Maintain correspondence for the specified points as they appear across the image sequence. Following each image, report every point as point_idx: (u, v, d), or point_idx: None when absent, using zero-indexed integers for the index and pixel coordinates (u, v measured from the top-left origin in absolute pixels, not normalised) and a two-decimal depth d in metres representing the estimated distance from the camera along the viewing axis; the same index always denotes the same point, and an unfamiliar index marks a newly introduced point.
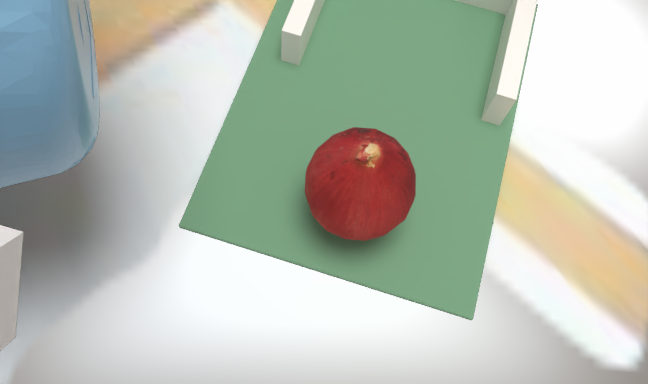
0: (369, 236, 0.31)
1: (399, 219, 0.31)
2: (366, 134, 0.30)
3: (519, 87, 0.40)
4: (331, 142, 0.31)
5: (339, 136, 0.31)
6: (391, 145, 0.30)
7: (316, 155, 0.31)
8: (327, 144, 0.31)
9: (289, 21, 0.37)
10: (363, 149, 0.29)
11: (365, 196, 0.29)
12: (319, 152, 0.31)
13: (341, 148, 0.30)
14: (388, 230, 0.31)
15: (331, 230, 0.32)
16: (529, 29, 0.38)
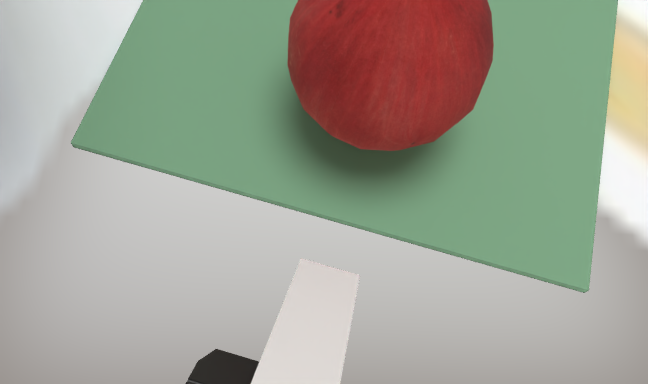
0: (410, 137, 0.17)
1: (466, 104, 0.17)
2: None
3: None
4: None
5: None
6: None
7: None
8: None
9: None
10: None
11: (407, 47, 0.15)
12: None
13: None
14: (445, 126, 0.17)
15: (338, 130, 0.17)
16: None
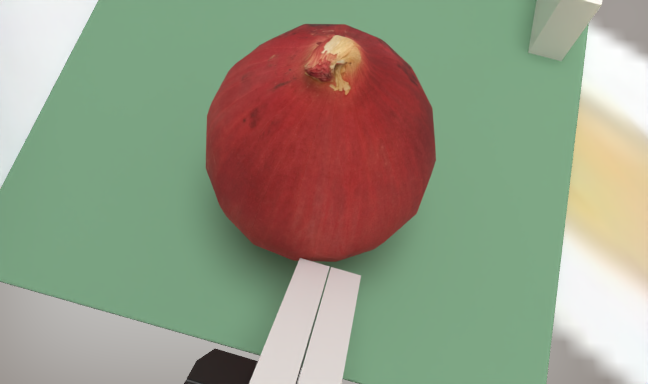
0: (344, 252, 0.15)
1: (406, 213, 0.15)
2: (328, 27, 0.14)
3: None
4: (252, 52, 0.14)
5: (269, 40, 0.14)
6: (383, 49, 0.14)
7: (223, 84, 0.15)
8: (244, 58, 0.14)
9: None
10: (320, 45, 0.12)
11: (332, 162, 0.13)
12: (228, 77, 0.14)
13: (273, 57, 0.13)
14: (384, 237, 0.15)
15: (263, 244, 0.15)
16: None
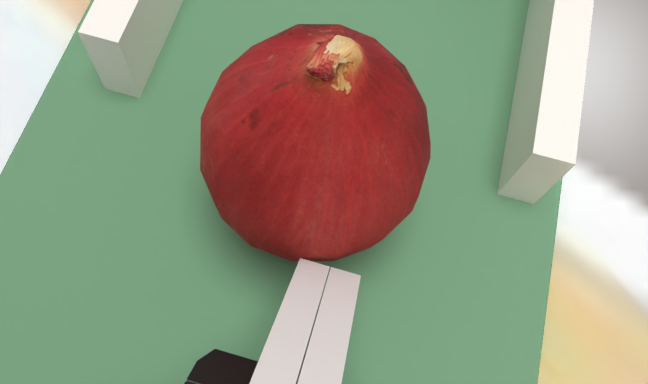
0: (343, 251, 0.15)
1: (403, 211, 0.15)
2: (324, 27, 0.14)
3: None
4: (248, 53, 0.14)
5: (264, 40, 0.14)
6: (379, 48, 0.14)
7: (218, 85, 0.14)
8: (239, 59, 0.14)
9: (97, 12, 0.18)
10: (322, 46, 0.12)
11: (334, 162, 0.13)
12: (223, 78, 0.14)
13: (271, 58, 0.13)
14: (382, 236, 0.15)
15: (261, 245, 0.15)
16: (589, 12, 0.19)
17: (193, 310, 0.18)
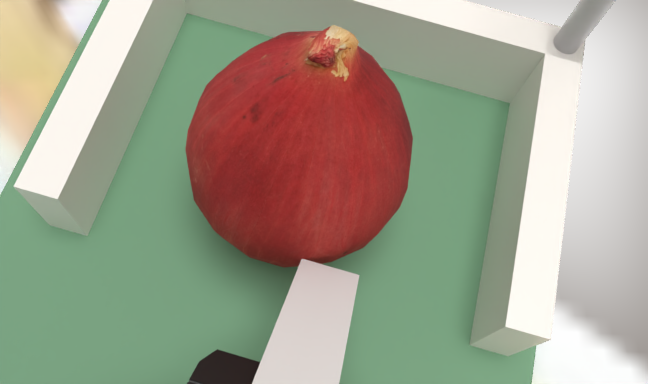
0: (344, 246, 0.15)
1: (396, 202, 0.15)
2: (308, 31, 0.15)
3: None
4: (236, 60, 0.15)
5: (250, 49, 0.15)
6: (361, 48, 0.15)
7: (207, 94, 0.15)
8: (228, 66, 0.15)
9: (35, 162, 0.16)
10: (321, 34, 0.13)
11: (337, 147, 0.13)
12: (213, 86, 0.15)
13: (265, 57, 0.14)
14: (378, 229, 0.15)
15: (262, 249, 0.15)
16: (568, 158, 0.18)
17: None
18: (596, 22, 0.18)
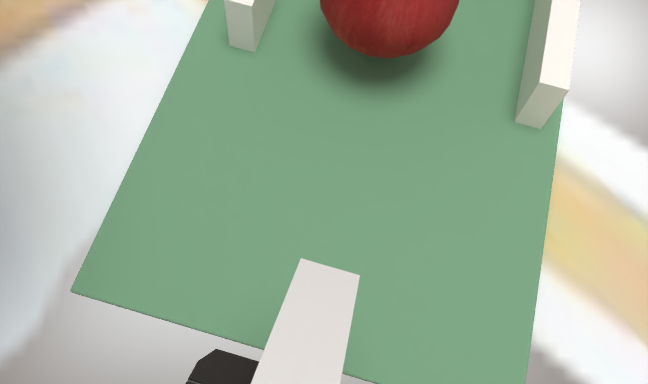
0: (406, 40, 0.24)
1: (444, 18, 0.24)
2: None
3: None
4: None
5: None
6: None
7: None
8: None
9: None
10: None
11: None
12: None
13: None
14: (430, 33, 0.24)
15: (356, 37, 0.24)
16: None
17: (300, 192, 0.25)
18: None
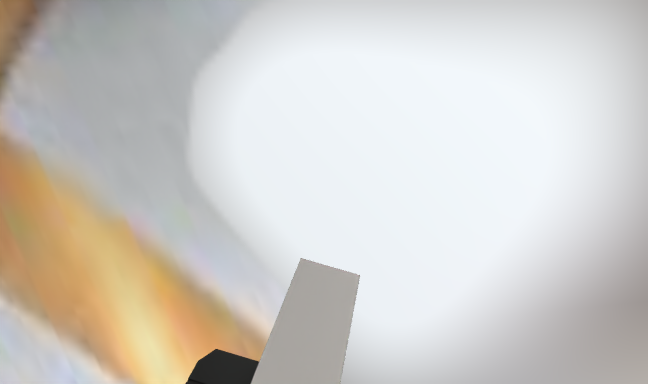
0: None
1: None
2: None
3: None
4: None
5: None
6: None
7: None
8: None
9: None
10: None
11: None
12: None
13: None
14: None
15: None
16: None
17: None
18: None
